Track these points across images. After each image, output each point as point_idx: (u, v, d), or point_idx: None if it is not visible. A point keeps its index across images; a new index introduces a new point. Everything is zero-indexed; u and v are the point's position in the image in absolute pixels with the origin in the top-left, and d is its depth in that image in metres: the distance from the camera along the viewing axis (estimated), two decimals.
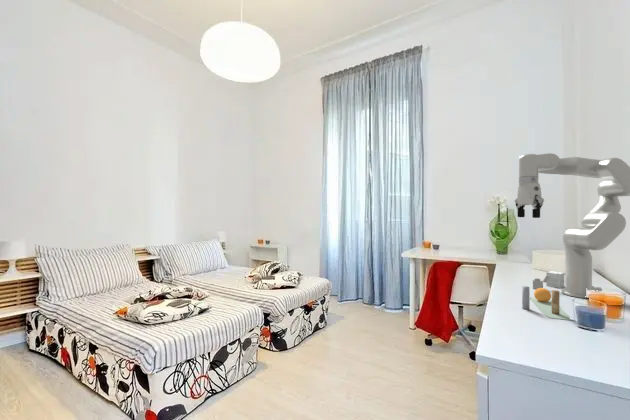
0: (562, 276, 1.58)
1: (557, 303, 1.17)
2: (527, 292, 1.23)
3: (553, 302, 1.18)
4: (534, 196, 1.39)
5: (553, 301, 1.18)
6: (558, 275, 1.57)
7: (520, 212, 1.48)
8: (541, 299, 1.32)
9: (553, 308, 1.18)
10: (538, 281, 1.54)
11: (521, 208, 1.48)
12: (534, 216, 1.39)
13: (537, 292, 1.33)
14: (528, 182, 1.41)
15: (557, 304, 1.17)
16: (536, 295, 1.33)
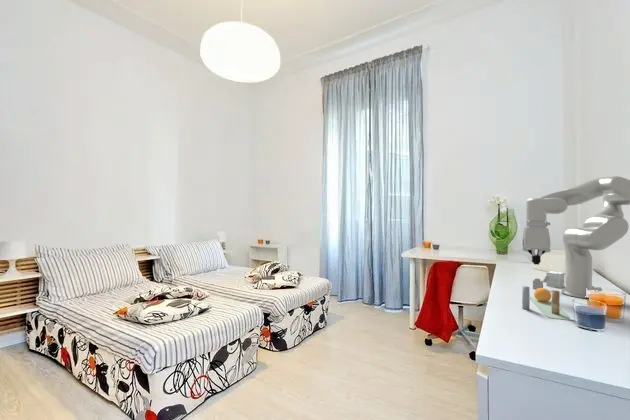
0: (562, 276, 1.58)
1: (557, 303, 1.17)
2: (527, 292, 1.23)
3: (553, 302, 1.18)
4: None
5: (553, 301, 1.18)
6: (558, 275, 1.57)
7: None
8: (541, 299, 1.32)
9: (553, 308, 1.18)
10: (538, 281, 1.54)
11: None
12: None
13: (537, 292, 1.33)
14: (545, 227, 1.39)
15: (557, 304, 1.17)
16: (536, 295, 1.33)
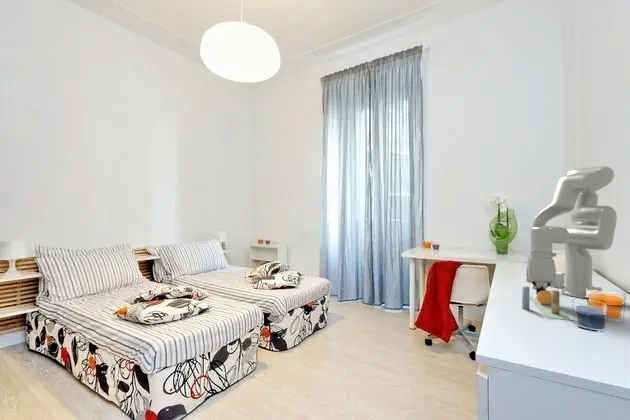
0: (562, 276, 1.58)
1: (557, 303, 1.17)
2: (527, 292, 1.23)
3: (553, 302, 1.18)
4: (555, 273, 1.31)
5: (553, 301, 1.18)
6: (558, 275, 1.57)
7: None
8: None
9: (553, 308, 1.18)
10: None
11: None
12: None
13: (540, 301, 1.29)
14: (551, 258, 1.31)
15: (557, 304, 1.17)
16: (538, 300, 1.30)
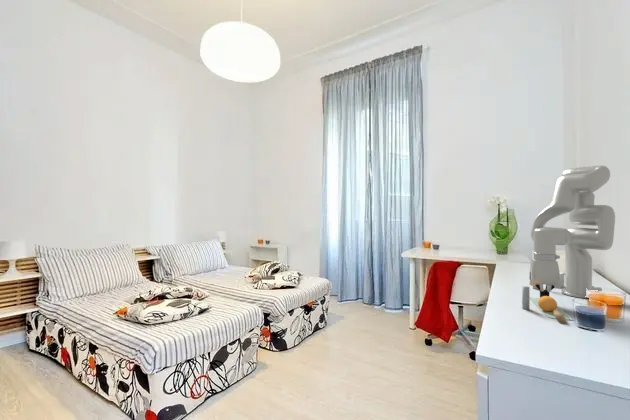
0: (562, 276, 1.58)
1: None
2: (527, 292, 1.23)
3: None
4: (559, 276, 1.28)
5: None
6: None
7: None
8: (542, 298, 1.21)
9: (555, 316, 1.15)
10: None
11: (543, 288, 1.31)
12: None
13: None
14: (554, 261, 1.28)
15: None
16: (538, 301, 1.23)
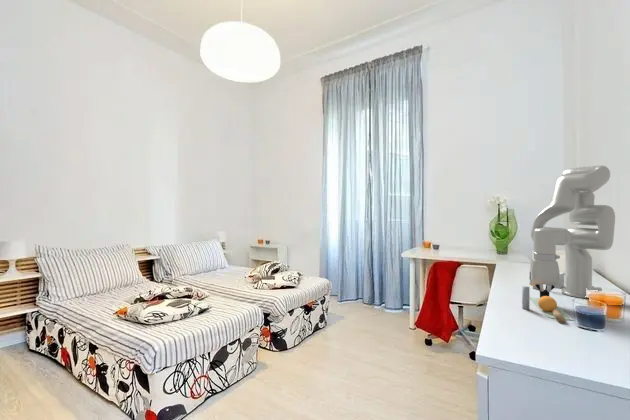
0: (562, 276, 1.58)
1: None
2: (527, 292, 1.23)
3: (556, 318, 1.13)
4: (559, 276, 1.28)
5: None
6: None
7: None
8: (542, 298, 1.21)
9: None
10: None
11: (543, 288, 1.31)
12: None
13: None
14: (554, 261, 1.28)
15: None
16: (538, 301, 1.23)
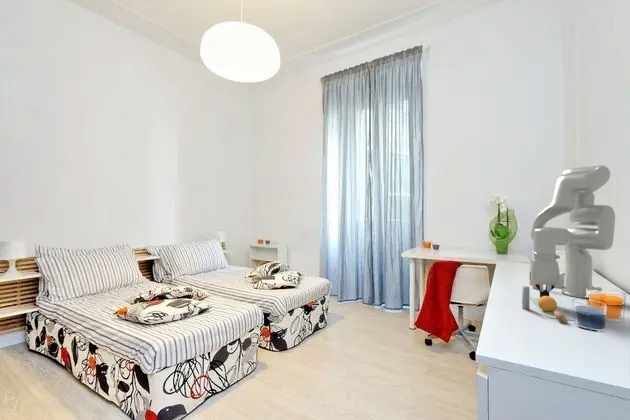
0: (562, 276, 1.58)
1: None
2: (527, 292, 1.23)
3: None
4: (559, 276, 1.28)
5: (557, 318, 1.13)
6: None
7: None
8: (542, 298, 1.21)
9: (555, 316, 1.15)
10: None
11: (543, 288, 1.31)
12: None
13: None
14: (554, 261, 1.28)
15: None
16: (538, 301, 1.23)
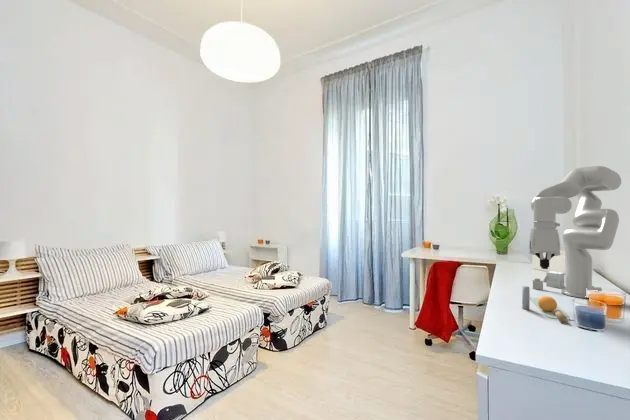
0: (562, 276, 1.58)
1: None
2: (527, 292, 1.23)
3: (557, 317, 1.13)
4: (559, 243, 1.28)
5: (557, 317, 1.13)
6: (558, 275, 1.57)
7: None
8: (542, 298, 1.21)
9: None
10: (538, 281, 1.54)
11: (543, 256, 1.31)
12: None
13: None
14: (554, 228, 1.28)
15: None
16: (538, 301, 1.23)
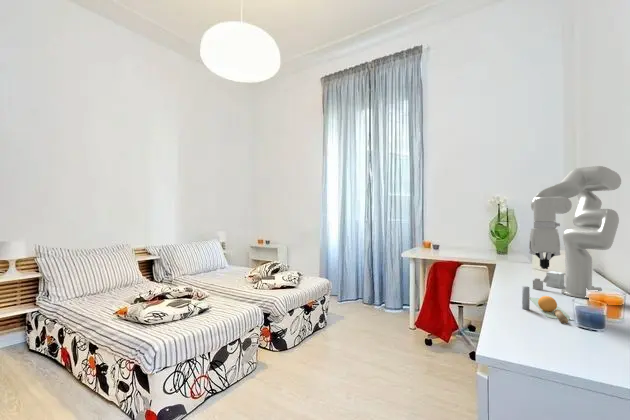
0: (562, 276, 1.58)
1: None
2: (527, 292, 1.23)
3: (557, 317, 1.13)
4: (559, 243, 1.28)
5: (557, 317, 1.13)
6: (558, 275, 1.57)
7: None
8: (542, 298, 1.21)
9: None
10: (538, 281, 1.54)
11: (543, 256, 1.31)
12: None
13: None
14: (554, 228, 1.28)
15: None
16: (538, 301, 1.23)
